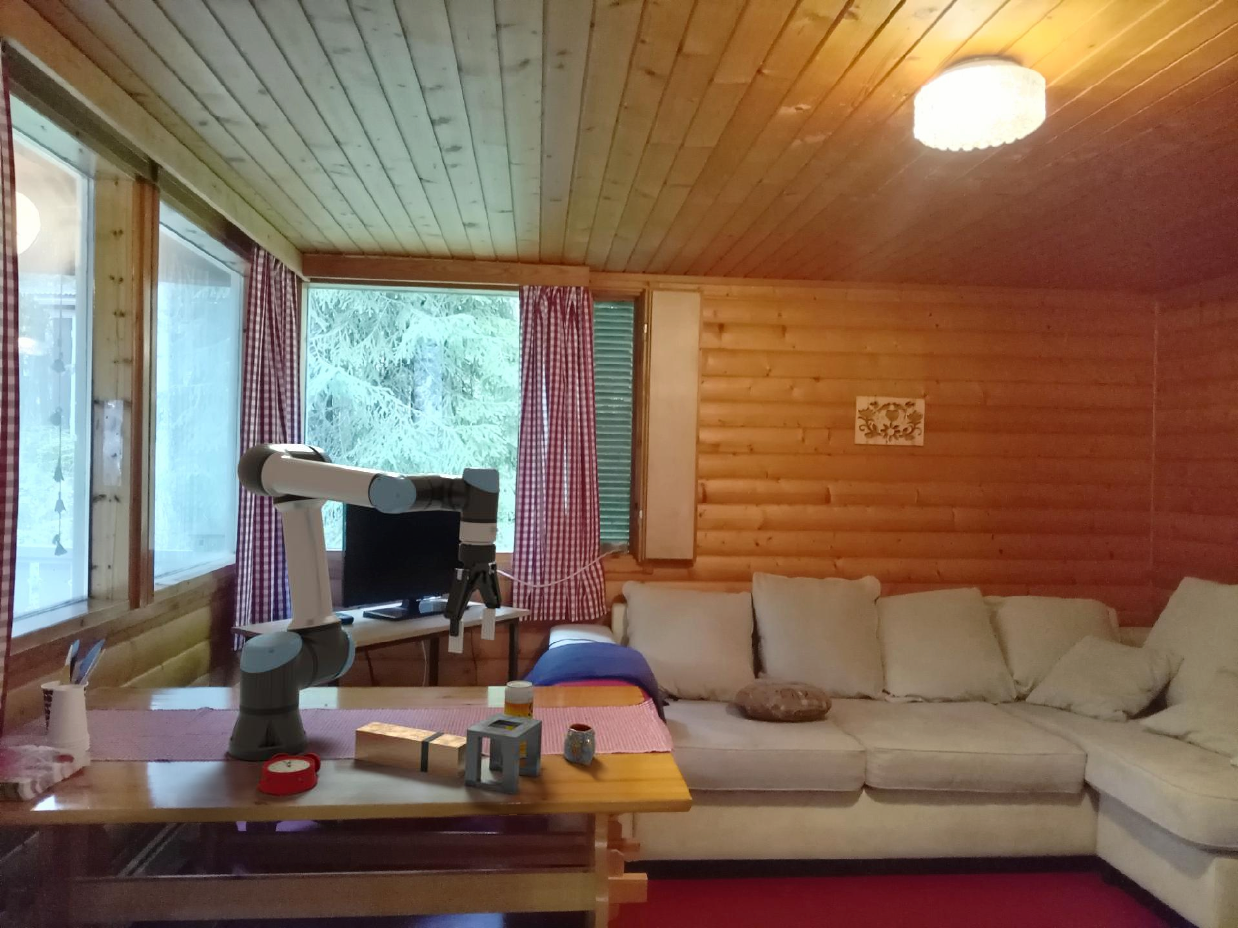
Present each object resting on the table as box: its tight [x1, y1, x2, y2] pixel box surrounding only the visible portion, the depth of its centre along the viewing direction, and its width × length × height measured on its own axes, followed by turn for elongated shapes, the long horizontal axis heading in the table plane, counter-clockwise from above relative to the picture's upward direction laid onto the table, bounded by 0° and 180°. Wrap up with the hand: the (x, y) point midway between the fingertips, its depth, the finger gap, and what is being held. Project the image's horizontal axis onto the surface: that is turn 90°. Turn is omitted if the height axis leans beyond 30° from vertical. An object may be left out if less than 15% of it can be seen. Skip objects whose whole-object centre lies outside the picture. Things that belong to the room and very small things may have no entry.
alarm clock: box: [257, 752, 322, 797], centre depth 162 cm, size 10×6×15 cm
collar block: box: [464, 712, 543, 796], centre depth 167 cm, size 10×12×11 cm
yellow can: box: [503, 680, 535, 759], centre depth 181 cm, size 6×6×15 cm
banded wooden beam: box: [354, 721, 466, 779], centre depth 174 cm, size 24×6×6 cm, turn 70°
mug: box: [562, 722, 597, 766], centre depth 178 cm, size 12×7×7 cm, turn 14°
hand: (472, 645), depth 175 cm, fingers open, 13 cm apart
